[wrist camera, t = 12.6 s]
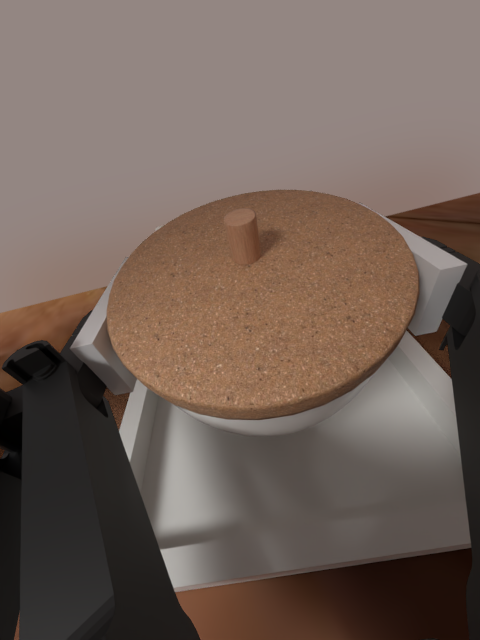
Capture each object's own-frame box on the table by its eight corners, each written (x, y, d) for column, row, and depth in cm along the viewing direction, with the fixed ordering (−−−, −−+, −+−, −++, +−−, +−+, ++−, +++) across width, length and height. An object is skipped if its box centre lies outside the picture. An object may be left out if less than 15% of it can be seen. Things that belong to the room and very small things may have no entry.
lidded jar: (191, 306, 19) (127, 177, 12) (335, 288, 17) (363, 128, 10) (167, 467, 12) (-21, 400, 5) (397, 458, 11) (610, 344, 3)
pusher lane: (549, 536, 9) (805, 465, 4) (97, 603, 10) (-93, 606, 5) (325, 259, 25) (328, 186, 21) (170, 293, 26) (140, 230, 22)
